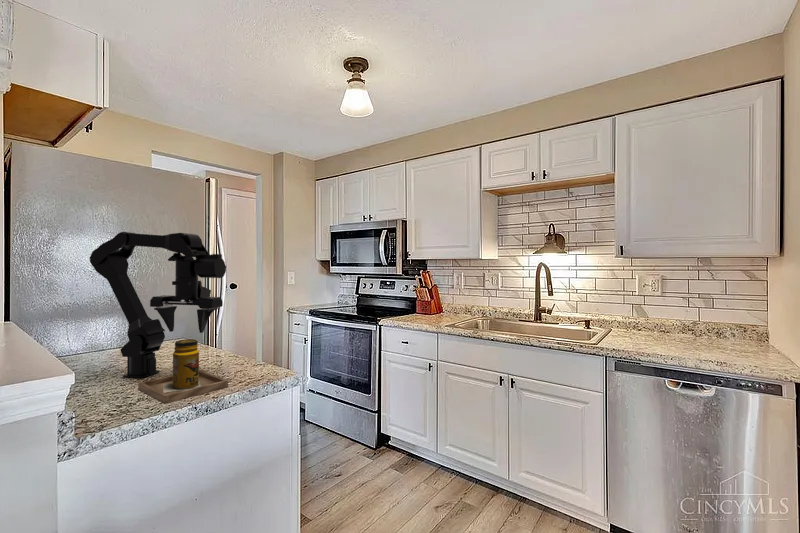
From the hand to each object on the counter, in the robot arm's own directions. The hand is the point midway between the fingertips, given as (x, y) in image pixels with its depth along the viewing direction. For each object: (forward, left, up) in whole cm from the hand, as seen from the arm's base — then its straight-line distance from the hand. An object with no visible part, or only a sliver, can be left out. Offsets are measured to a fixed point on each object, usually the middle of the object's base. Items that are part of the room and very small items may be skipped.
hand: (186, 332), depth 111 cm
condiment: (+5, -9, -13) cm, 16 cm away
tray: (+5, -9, -13) cm, 16 cm away
